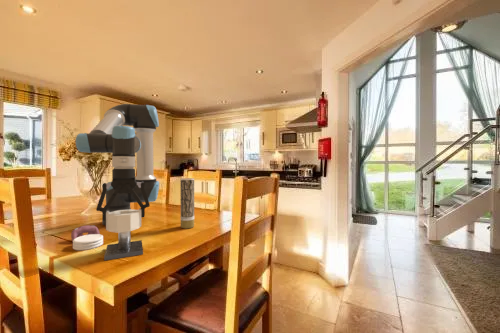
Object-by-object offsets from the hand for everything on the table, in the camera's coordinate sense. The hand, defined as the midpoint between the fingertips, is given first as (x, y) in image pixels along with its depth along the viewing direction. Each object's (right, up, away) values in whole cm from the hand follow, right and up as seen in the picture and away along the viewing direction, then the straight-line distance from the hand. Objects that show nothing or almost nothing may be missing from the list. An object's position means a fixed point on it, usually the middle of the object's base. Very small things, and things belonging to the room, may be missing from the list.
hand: (124, 227), depth 87 cm
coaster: (-18, -9, +6) cm, 21 cm away
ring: (0, 0, 0) cm, 0 cm away
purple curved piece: (-24, -9, +13) cm, 29 cm away
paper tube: (+15, -9, +33) cm, 37 cm away
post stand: (0, -9, 0) cm, 9 cm away
